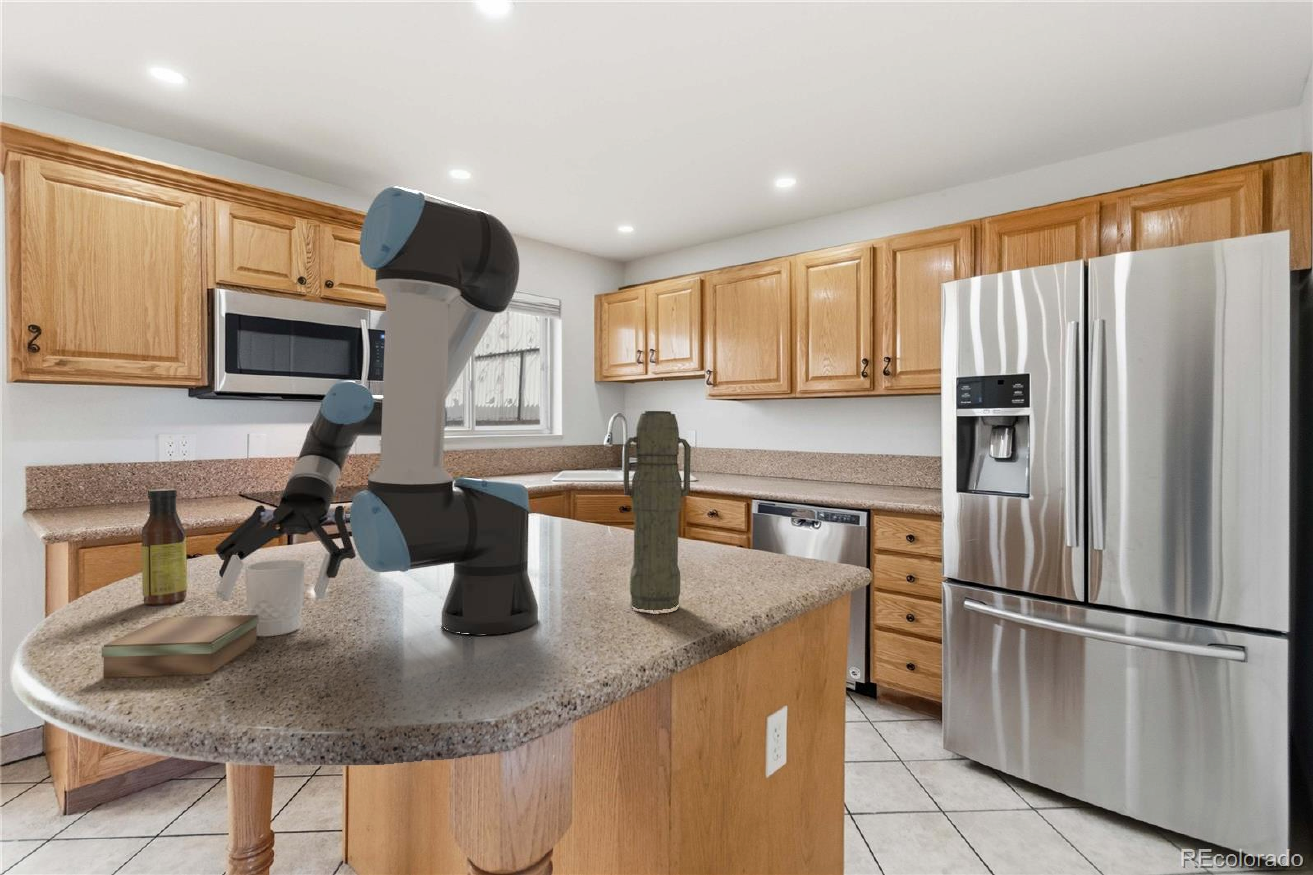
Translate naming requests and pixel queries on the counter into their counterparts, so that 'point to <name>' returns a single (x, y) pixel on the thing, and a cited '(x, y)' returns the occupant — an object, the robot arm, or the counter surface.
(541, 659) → the counter surface
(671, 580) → the thermos
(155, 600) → the sauce bottle
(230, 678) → the counter surface
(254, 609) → the white cup
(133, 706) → the counter surface
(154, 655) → the walnut block
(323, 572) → the robot arm
